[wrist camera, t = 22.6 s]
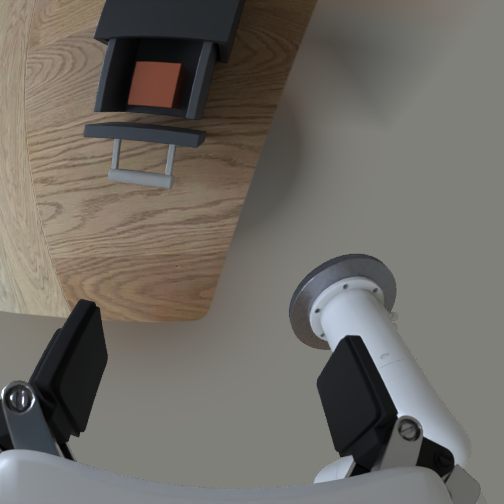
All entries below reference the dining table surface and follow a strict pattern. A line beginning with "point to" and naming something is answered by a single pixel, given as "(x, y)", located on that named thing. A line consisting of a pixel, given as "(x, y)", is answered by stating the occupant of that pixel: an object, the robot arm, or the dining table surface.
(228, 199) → the dining table surface
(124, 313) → the dining table surface
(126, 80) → the dark grey drawer
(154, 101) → the block
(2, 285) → the dining table surface
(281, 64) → the dining table surface
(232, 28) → the drawer cabinet
